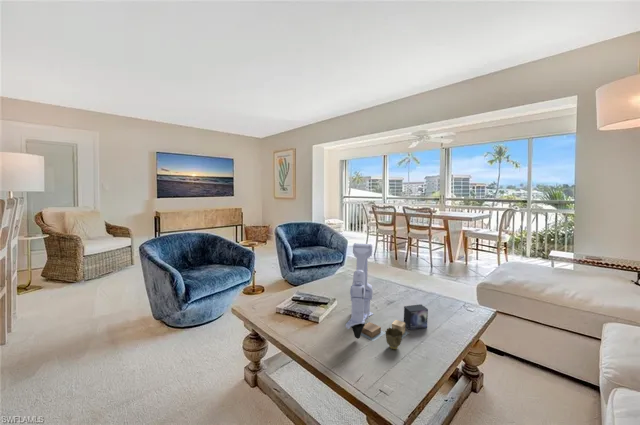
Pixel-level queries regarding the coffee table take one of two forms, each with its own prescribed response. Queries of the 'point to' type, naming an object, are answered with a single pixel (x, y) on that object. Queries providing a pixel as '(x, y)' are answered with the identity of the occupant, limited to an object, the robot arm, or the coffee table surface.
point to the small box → (415, 317)
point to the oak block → (399, 325)
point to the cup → (393, 338)
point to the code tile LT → (373, 337)
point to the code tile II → (405, 334)
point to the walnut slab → (371, 330)
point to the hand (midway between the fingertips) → (357, 337)
